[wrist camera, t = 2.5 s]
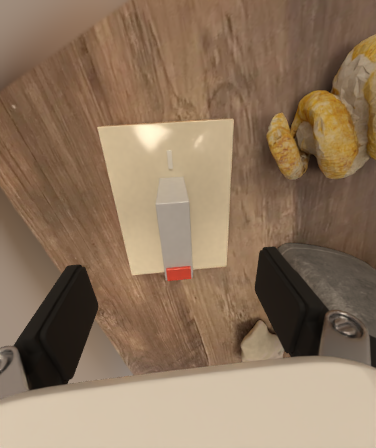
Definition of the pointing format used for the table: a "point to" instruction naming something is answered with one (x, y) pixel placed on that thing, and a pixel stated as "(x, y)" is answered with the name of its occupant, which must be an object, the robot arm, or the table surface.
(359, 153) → the cream yellow lumpy piece
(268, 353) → the stone tool
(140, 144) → the block
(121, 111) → the table surface
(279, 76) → the table surface
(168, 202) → the tap handle
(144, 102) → the table surface
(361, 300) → the flask
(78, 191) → the table surface
